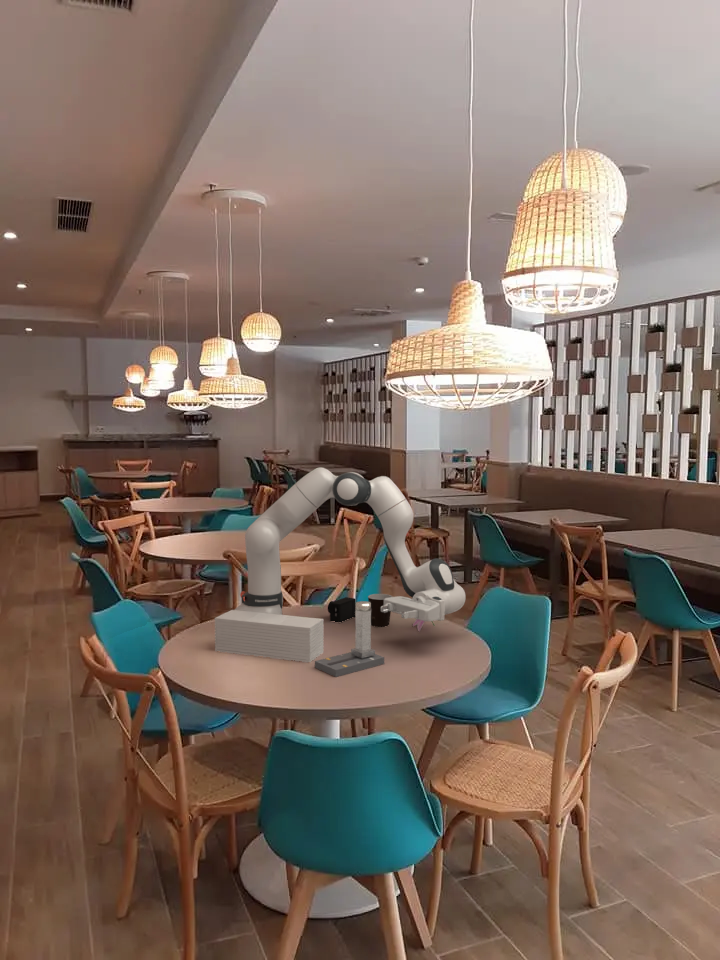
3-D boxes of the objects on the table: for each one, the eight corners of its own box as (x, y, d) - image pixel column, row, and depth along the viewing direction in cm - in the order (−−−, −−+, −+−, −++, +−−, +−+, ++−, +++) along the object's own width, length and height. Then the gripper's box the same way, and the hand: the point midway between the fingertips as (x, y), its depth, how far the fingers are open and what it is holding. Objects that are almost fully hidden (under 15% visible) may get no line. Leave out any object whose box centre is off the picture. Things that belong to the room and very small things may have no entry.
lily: (414, 624, 265) (404, 603, 262) (445, 613, 263) (435, 591, 260) (416, 644, 254) (405, 622, 251) (448, 632, 252) (438, 610, 249)
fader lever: (361, 658, 216) (362, 606, 215) (351, 654, 220) (351, 602, 219) (374, 655, 219) (375, 603, 218) (364, 651, 223) (364, 600, 222)
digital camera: (343, 614, 274) (343, 596, 274) (355, 617, 271) (355, 598, 271) (327, 621, 266) (327, 601, 265) (339, 623, 263) (339, 604, 262)
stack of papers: (323, 653, 230) (323, 618, 229) (309, 663, 220) (309, 627, 219) (232, 642, 240) (231, 609, 239) (215, 651, 230) (214, 617, 229)
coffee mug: (370, 620, 266) (370, 593, 265) (394, 622, 264) (394, 594, 263) (364, 629, 255) (364, 601, 254) (388, 631, 253) (389, 602, 252)
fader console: (335, 677, 207) (335, 669, 207) (314, 667, 215) (314, 660, 215) (384, 663, 219) (384, 656, 218) (362, 655, 226) (362, 648, 226)
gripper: (402, 589, 242) (370, 596, 234) (447, 600, 227) (415, 608, 218) (402, 608, 243) (370, 616, 234) (447, 621, 227) (415, 629, 218)
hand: (392, 612), depth 226 cm, fingers open, 8 cm apart
